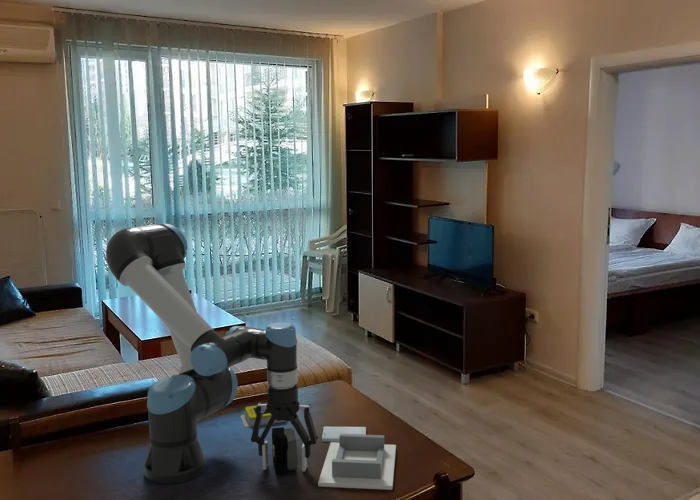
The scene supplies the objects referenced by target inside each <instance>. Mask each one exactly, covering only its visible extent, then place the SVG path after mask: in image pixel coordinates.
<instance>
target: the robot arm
mask: <svg viewBox="0 0 700 500" xmlns="http://www.w3.org/2000/svg"><path fill="white" fill-rule="evenodd" d="M187 250H188V242H187V240H186V237H185V235H184V233H183V232H182V231H181V230H180V229H179V228H178V227H176V226H174V225H172V224H171V223H154V224H148V225H143V226H135V227H131V226H130V227H126V228H123V229H120V230H118V231H117V232H115V234H113V235H112V236H111V237H110V239H109V241H108V243H107V245H106V250H105V258H106V263H107V265H108V268H109V270H110V272H111V274H112V275H113V277H114V278H115V279H116V281H118V282H119V283H120V284H121V285H122V286H124V287H129V288H130V289H131V290H132V291H133V292H134V293H135V294H136V295H137V296H138V297H139V299H140V300H141V301H142V302H143V303H144V304H146V305H147V307H148V308H149V309H150V310H151V311H152V312H153V313H154V314H155V316H157V317H158V319H159V320H160V321H161V322H163V324H164V325H166V327H167V328H168V331H169V334H170V336H171V339H172V342H173V345H174V347H175V350H176V352H177V356H178V358H179V361H180V364H181V365H180V366H181V367H180V369H179V371H178V374H172V376H165V377H163V378H160V379H158V380H157V381H154V383H153V384H151V385H150V387H149V389H148V391H147V401H146V408H147V415H148V417H147V418H148V427H149V428H148V430H149V447H148V451H147V453H146V458H145V462H144V465H143V466H144V467H143V469H144V477H145V478H146V479H147V480H148V481H150V482H152V483H155V484H161V485H162V484H163V485H167V484H168V485H169V484H170V485H172V484H178V483H182V482H184V483H185V482H187V481H189V480H193V479H194V478H196V477H198V476H200V474H202V473H203V472H204V471H205V469H206V456H205V454H204V450H203V449H202V448H203V447H202V446H201V443H200V442H199V441H200V440H199V439H198V428H197V427H198V426H197V423H198V422H199V421H201V420H202V419H205V418H207V417H208V416H210V415H211V414H214V413H216V412H219V411H221V410H223V409H224V408H225V407H227V406H228V405H229V404H231V403H232V402H233V401H234V400H235V398H236V395H237V393H238V386H239V385H238V384H239V383H238V378H237V375H236V373H235V371H234V370H233V368H232V367H233V366H234V365H237V364H240V363H242V362H245V361H246V360H248V359H257V360H263V361H264V360H266V375H267V379H266V380H267V384H268V386H267V403H262V402H258V403H257V407H256V414H257V415H256V420H255V424H254V426H253V429H252V432H251V433H252V434H251V438H250V442H251V443H256V444H257V445H258V456H259V457H262V470H265V471H266V470H267V469H268V465H269V448H268V444H269V443H268V442H269V441H268V440H265V439H266V437H267V435H268V434H269V432H270V430H271V429H272V427H273V424H275V423H274V421H275V419H276V420H277V421H282V420H284V421H286V422H290V424H291V425H292V426H293V427H294V430H295V431H296V434H297V435H298V436H299V438H300V440H301V442H302V445H301V471H302V472H306V470H307V468H308V461H307V460H308V459H309V458H310V456H311V454H312V453H311V451H312V449H311V445H316V443H317V441H318V435H317V431H316V427H315V424H314V421H313V417H312V415H311V408H312V406H311V404H310V403H307V404H306V405H305V404H300V402H299V390H298V389H299V388H298V387H299V386H298V384H297V383H298V381H299V380H298V364H297V362H298V360H297V358H298V357H297V354H298V353H297V352H298V351H297V348H298V347H297V344H298V340H297V331H296V329H297V328H296V326H295V325H294V324H293V323H290V322H284V321H283V322H280V321H279V322H278V321H277V322H272V323H269V324H268V325H267V326H266V327H265V328H264V329H262V328H256V327H252V326H251V327H250V326H246V325H235V326H232V327H230V328H229V330H228V331H226V333H225V335H224V336H221V335H220V334H219V333H218V332H217V331H216V330H215V329H214V328H213V327H212V326H211V325H210V324H209V323H208V322H207V321H206V320H205V319H204V317H202V316H201V314H200V313H198V311H197V308H196V306H195V303H194V301H193V297H192V295H191V292H190V289H189V286H188V284H187V281H186V278H185V276H184V273H183V272H184V269H185V267H186V263H185V260H184V259H185V258H186V257H187V253H188V252H187ZM266 409H267V410H268V411H269V412H270V414H271V415H272V416H271V418H270V420H269V422H268V424H266V425H265V428H264V429H263V431H262V434H261V435H260V436H259V434H260V433H259V432H260V428H261V426H262V425H261V421H262V416H263V413H264V412H265V410H266ZM299 411H300V412H301V414H302V415H303V418H304V419H303V420H304V421H305V424H306V429H307V431H306V429H305V428H304V426H303V424H302V423H301V420H300V418H299V416H298V414H297V413H298V412H299ZM307 432H308V433H307Z"/></svg>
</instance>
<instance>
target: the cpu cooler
mask: <svg viewBox="0 0 700 500" xmlns="http://www.w3.org/2000/svg"><path fill="white" fill-rule="evenodd" d="M271 450H272V451H271V452H272V463H273V467H274V471H275V476H279V475H287V474H289V472H292V471H297V469H298V462H299V461H298V447H297V438H296V434H295V429H293V427H292V428H289V427H288V428H285V427H284V426H283V427H273V428H272V427H271Z"/></svg>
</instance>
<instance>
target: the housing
mask: <svg viewBox="0 0 700 500" xmlns="http://www.w3.org/2000/svg"><path fill="white" fill-rule="evenodd" d="M396 454H397V445H396V444H385V434H384V435H382V434H366V435H362V434H340V436H339V442H329V447H328V450H327V454H326V456H325V460H324V463H323V466H322V469H321V473H320V476H319V479H318V482H317V485H318V487H323V488H345V489H364V490H365V489H367V490H370V489H371V490H388V491H389V490H390V491H392V490H393V488H394V477H395V475H394V474H395V464H396Z"/></svg>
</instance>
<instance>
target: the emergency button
mask: <svg viewBox="0 0 700 500" xmlns="http://www.w3.org/2000/svg"><path fill="white" fill-rule="evenodd" d="M257 405H258V404H257ZM257 405H251V406H246V407H245V408H244V414H241V415H240V416H239V417H240V419H241V421H242V424H243V426H244V427H245V428H251V427H254V424H255V420H256V415H257V414H256V407H257ZM271 416H272V415H271V414H270V412H269V411H268V410H267V409H266V410H265V412H264V413H263V416H262V421H261V425H260V426H267V424H268V422H269V420H270V418H271ZM285 422H287V421H284V420H282V421H277V420H276V419H275V421H274V423H273V424H277V423H278V424H279V423H285Z"/></svg>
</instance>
